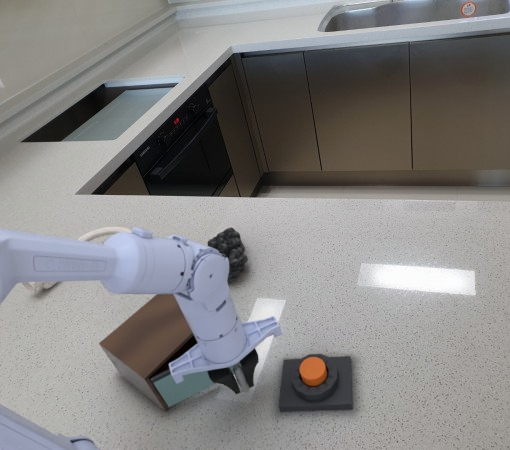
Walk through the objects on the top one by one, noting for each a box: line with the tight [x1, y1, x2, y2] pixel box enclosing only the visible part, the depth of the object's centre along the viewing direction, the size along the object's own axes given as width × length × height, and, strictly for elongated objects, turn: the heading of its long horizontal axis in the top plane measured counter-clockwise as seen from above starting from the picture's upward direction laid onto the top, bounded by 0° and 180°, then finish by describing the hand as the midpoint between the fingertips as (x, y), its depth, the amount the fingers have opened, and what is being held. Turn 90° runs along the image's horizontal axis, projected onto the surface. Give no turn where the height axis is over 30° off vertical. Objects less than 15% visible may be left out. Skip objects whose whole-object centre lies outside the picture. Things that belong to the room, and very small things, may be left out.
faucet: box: [21, 226, 132, 294], centre depth 95 cm, size 5×18×21 cm
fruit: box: [206, 227, 249, 282], centre depth 88 cm, size 9×8×15 cm
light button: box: [300, 357, 327, 386], centre depth 64 cm, size 4×4×2 cm
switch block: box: [278, 353, 354, 412], centre depth 65 cm, size 10×8×3 cm
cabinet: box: [98, 294, 198, 412], centre depth 71 cm, size 12×14×8 cm
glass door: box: [151, 361, 251, 408], centre depth 64 cm, size 5×13×7 cm, turn 115°
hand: (243, 384), depth 64 cm, fingers closed
